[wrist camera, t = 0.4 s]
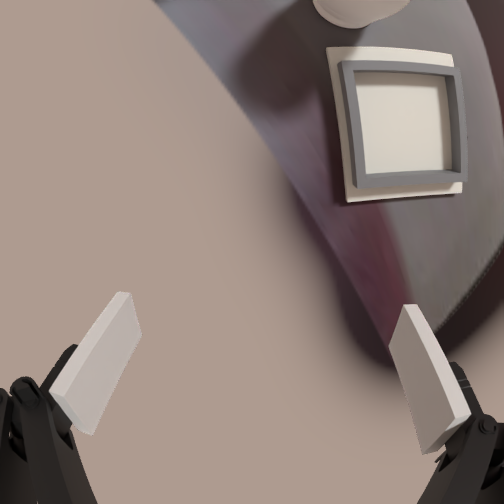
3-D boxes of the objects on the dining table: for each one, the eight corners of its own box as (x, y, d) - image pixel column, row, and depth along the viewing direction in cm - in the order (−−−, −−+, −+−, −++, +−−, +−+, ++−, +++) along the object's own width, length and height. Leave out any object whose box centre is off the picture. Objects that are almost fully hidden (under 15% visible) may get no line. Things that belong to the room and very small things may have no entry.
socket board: (325, 49, 29) (330, 42, 26) (447, 55, 26) (460, 52, 23) (345, 199, 37) (352, 208, 34) (457, 190, 35) (470, 198, 32)
